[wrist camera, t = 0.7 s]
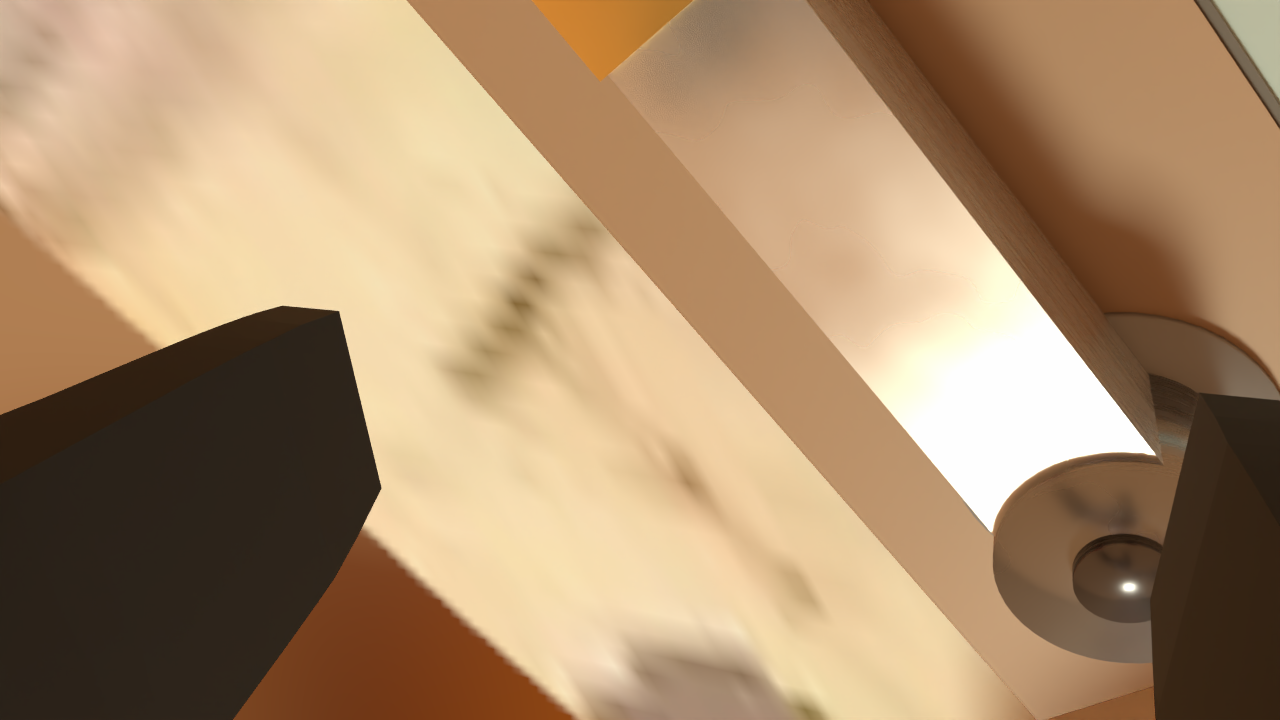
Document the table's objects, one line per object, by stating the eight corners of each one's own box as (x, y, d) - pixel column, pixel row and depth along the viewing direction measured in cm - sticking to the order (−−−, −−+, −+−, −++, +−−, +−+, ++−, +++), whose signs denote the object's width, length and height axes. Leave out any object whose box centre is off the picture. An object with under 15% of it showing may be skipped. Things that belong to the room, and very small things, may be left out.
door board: (2417, 215, 13) (2767, 353, 10) (1037, 676, 23) (1038, 807, 20) (1790, -1488, 9) (2111, -1977, 6) (435, -22, 18) (338, 29, 16)
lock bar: (1283, 498, 17) (1324, 629, 15) (1073, 578, 19) (1079, 706, 17) (728, -250, 14) (669, -233, 12) (545, -63, 16) (461, -15, 14)
